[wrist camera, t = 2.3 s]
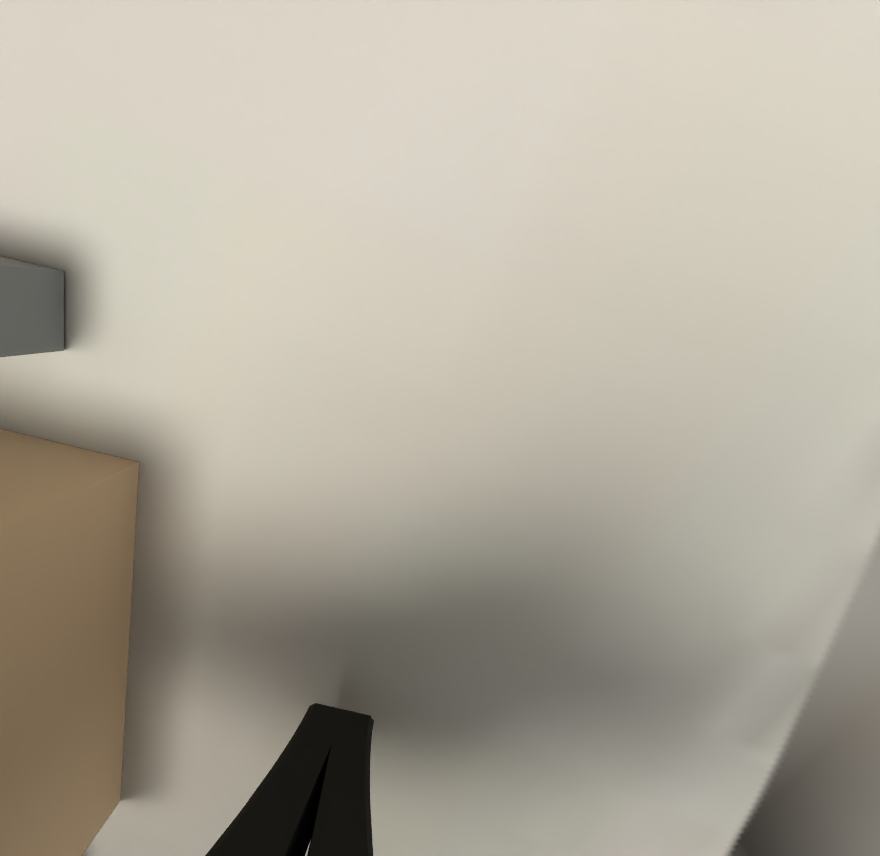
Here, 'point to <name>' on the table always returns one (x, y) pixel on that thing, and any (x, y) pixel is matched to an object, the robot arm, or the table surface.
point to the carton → (62, 640)
